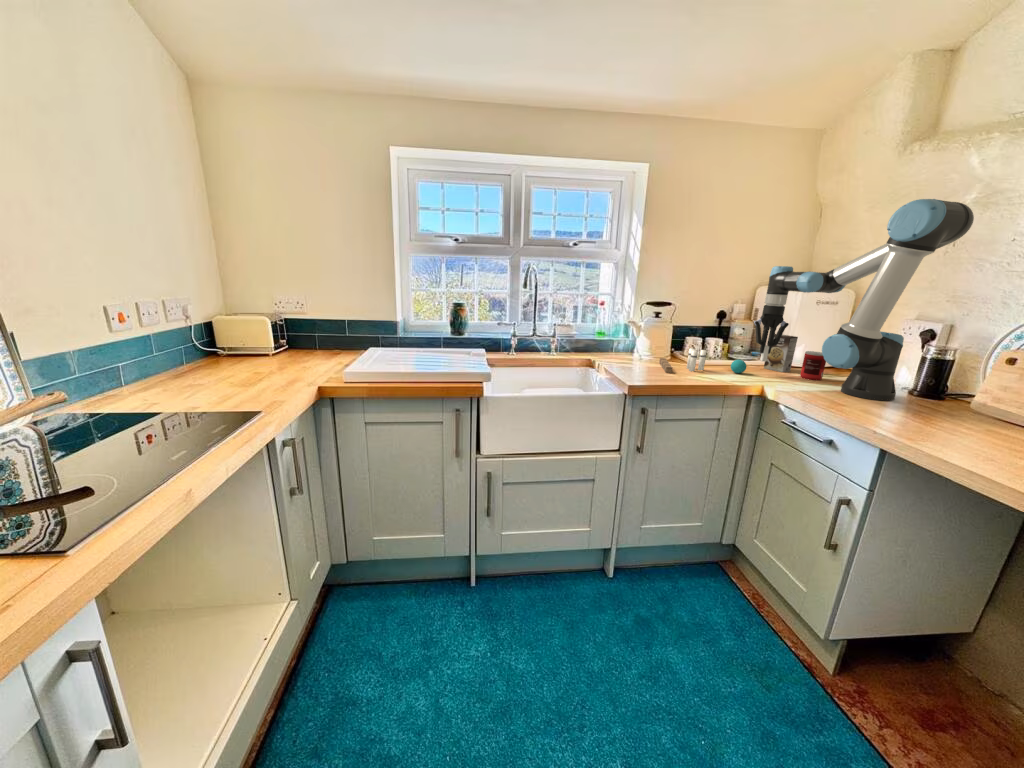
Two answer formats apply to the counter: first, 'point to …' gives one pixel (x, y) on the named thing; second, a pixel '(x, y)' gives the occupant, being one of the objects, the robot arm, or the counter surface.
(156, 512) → the counter surface
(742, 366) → the ball
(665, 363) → the rail
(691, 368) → the back pin near
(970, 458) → the counter surface
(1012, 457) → the counter surface
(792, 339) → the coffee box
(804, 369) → the canned food
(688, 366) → the back pin far
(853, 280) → the robot arm
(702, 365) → the front pin
